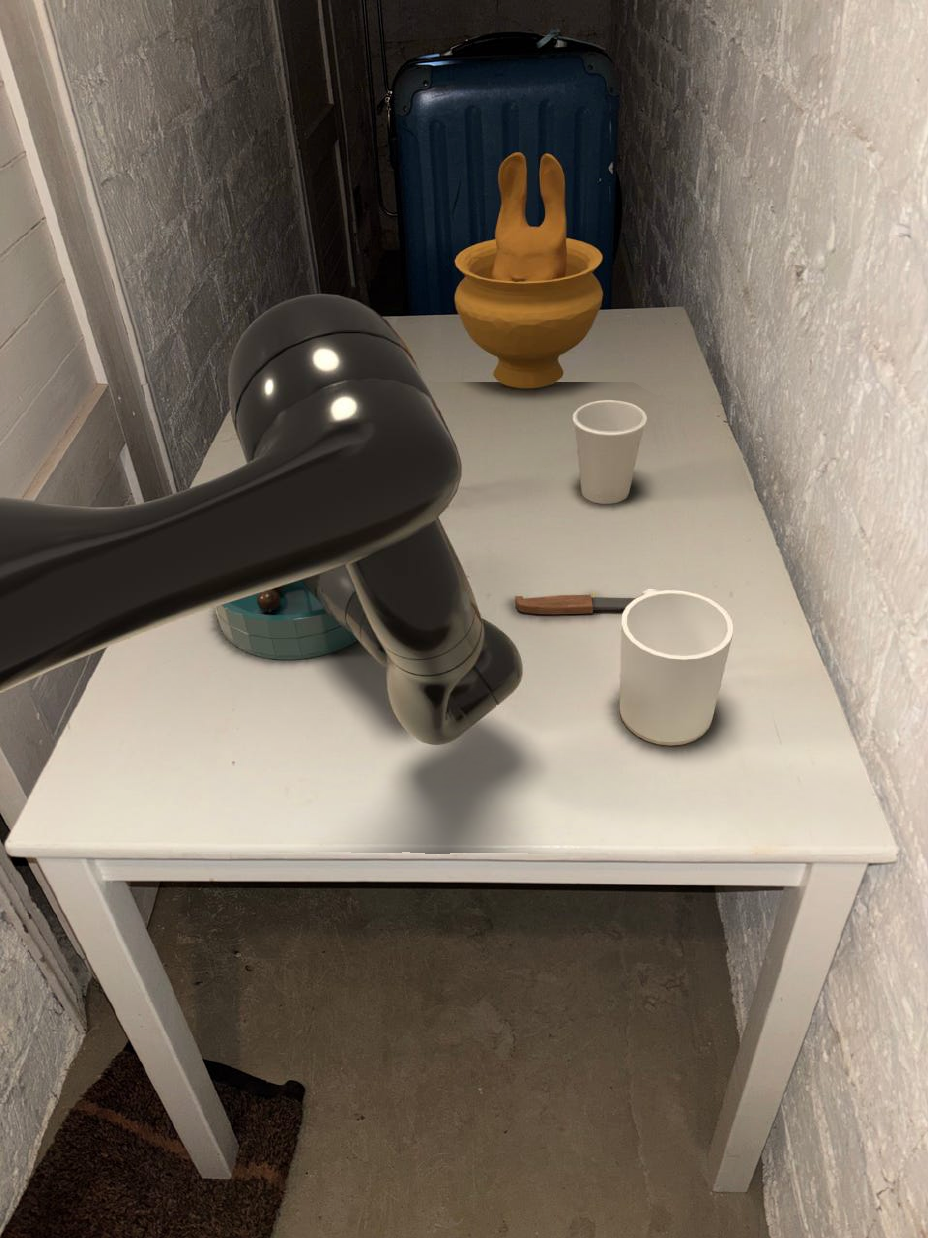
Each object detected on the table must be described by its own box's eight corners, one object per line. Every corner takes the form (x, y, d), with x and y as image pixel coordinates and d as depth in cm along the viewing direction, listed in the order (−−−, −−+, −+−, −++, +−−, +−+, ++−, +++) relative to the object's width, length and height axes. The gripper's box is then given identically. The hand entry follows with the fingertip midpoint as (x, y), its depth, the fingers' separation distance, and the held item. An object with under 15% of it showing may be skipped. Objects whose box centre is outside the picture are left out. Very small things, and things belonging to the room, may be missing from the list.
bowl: (239, 681, 86) (228, 641, 83) (204, 581, 99) (194, 543, 96) (412, 628, 91) (408, 589, 88) (357, 540, 104) (352, 502, 101)
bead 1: (262, 619, 93) (257, 601, 91) (256, 606, 95) (252, 588, 93) (285, 613, 93) (281, 594, 92) (279, 600, 95) (275, 581, 94)
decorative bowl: (436, 393, 133) (420, 170, 114) (488, 339, 148) (482, 134, 129) (574, 412, 126) (582, 179, 107) (615, 353, 141) (627, 139, 122)
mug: (734, 739, 78) (752, 648, 71) (635, 759, 76) (644, 668, 70) (683, 657, 86) (695, 568, 80) (593, 674, 85) (598, 585, 78)
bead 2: (265, 603, 95) (261, 585, 93) (260, 590, 97) (256, 572, 95) (288, 597, 96) (284, 578, 94) (282, 584, 97) (278, 566, 96)
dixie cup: (638, 512, 106) (645, 434, 100) (566, 507, 107) (568, 430, 101) (642, 476, 112) (648, 400, 106) (574, 472, 114) (576, 397, 107)
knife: (677, 586, 93) (682, 604, 90) (676, 594, 93) (681, 612, 91) (514, 590, 93) (515, 608, 91) (514, 598, 94) (515, 616, 92)
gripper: (421, 520, 82) (335, 448, 94) (277, 575, 76) (205, 492, 88) (427, 586, 87) (344, 511, 98) (292, 643, 81) (222, 556, 93)
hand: (279, 502), depth 93 cm, fingers closed on lollipop, 3 cm apart
